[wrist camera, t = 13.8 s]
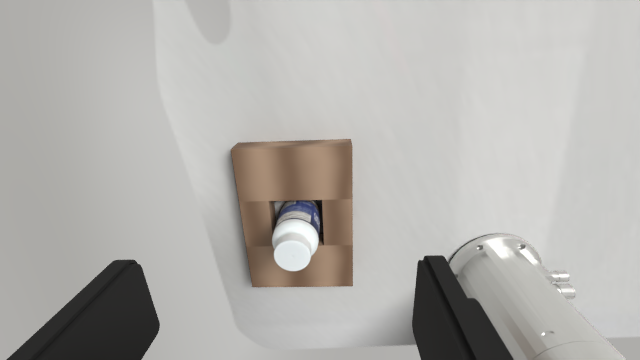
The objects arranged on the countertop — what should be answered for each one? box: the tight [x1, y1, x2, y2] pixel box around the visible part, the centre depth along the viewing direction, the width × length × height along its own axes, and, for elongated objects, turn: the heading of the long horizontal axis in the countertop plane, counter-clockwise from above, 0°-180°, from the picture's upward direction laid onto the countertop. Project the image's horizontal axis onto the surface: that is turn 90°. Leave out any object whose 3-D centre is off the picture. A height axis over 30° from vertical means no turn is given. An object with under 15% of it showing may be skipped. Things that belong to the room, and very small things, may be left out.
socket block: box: [231, 139, 353, 287], centre depth 40 cm, size 14×20×3 cm
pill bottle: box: [272, 200, 320, 271], centre depth 37 cm, size 5×5×10 cm
